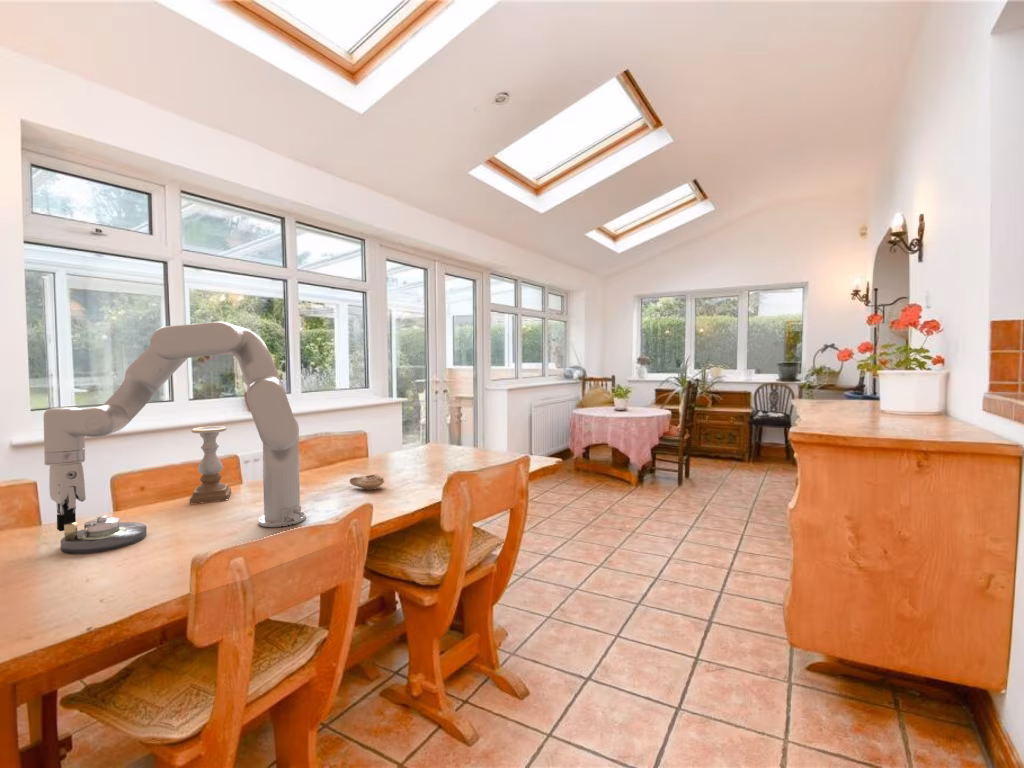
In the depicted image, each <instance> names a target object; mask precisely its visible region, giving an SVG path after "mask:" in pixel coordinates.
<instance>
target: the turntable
mask: <svg viewBox="0 0 1024 768" xmlns="http://www.w3.org/2000/svg"><path fill="white" fill-rule="evenodd" d="M63 532H64V533H63V534H64V536H63V537H62V538H61V539H60V551H61V552H63V553H65V554H72V555H81V554H92V553H93V554H94V553H101V552H105V551H110V550H115V549H119V548H122V547H126V546H130V545H132V544H134V543H137V542H139V541H141V540H142V539H145V537H147V525H146V524H145V523H142V522H137V521H136V522H134V521H133V522H132V521H131V522H130V521H129V522H128V521H127V522H125V521H124V522H120V531H119V532H117V533H114V534H111V535H108V536H103V537H96V538H87V537H85V535H84V528H83V529H81V530H78V521H76V522H70V523H66V524H64V531H63Z"/></svg>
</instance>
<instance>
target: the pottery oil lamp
mask: <svg viewBox="0 0 1024 768" xmlns="http://www.w3.org/2000/svg"><path fill="white" fill-rule="evenodd" d="M349 483H350V484H351V485H352V486H354V487H358V488H361V489H364V490H365V489H367V490H366V491H371V490H370V489H375V488H376V489H377V488H379V487H380V486H381V485H383V484H384V483H385V479H384V477H383V476H380V475H379V474H377V473H376V474H375V473H374V474H369V475H360V476H354V477H351V478H350V479H349ZM376 489H375V490H376Z"/></svg>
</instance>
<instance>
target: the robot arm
mask: <svg viewBox="0 0 1024 768" xmlns="http://www.w3.org/2000/svg"><path fill="white" fill-rule="evenodd" d="M150 336H151V337H150V340H149V345H148V346H147V348H146V349H145V350H144V351H143V352H142V353H141V354H140V355H139V356H138V357H137V358H136V359H135V360H134V361H133V362H132V363H131V364H129V366H128V367H127V368H126V370H125V375H124V380H123V381H122V383H121V385H120V386H119V387H118V389H117V390H116V391H115V392H114V393H113V394H112V395H111V396H110V397H109V398H108V399H107V400H106V401H105V402H104V403H103V404H102V405H100V406H96V407H90V408H79V407H77V406H76V407H74V406H67V407H64V406H62V407H51V408H48V409H47V410H45V411H44V413H43V453H44V456H43V457H44V466H49V470H48V471H49V482H48V483H49V484H48V485H49V489H48V490H49V497H50V499H51V500H52V501H54V502H55V503H56V513H57V514H56V528H57V529H56V531H57V530H58V531H59V532H64V524H66V523H70V522H77V521H76V519H77V518H76V516H77V515H76V509H77V505H76V504H77V503H76V502H77V501H76V500H78V501H79V502H81V503H82V502H84V501H86V498H87V496H86V485H85V484H86V483H85V473H84V467H83V463H84V462H85V461H86V445H85V442H86V441H85V440H86V438H85V437H87V438H88V437H89V438H102V437H106V436H109V435H112V434H113V433H116V432H119V431H120V430H122V429H123V428H125V427H126V426H127V425H128V424H129V423H130V422H132V420H133V419H134V418H135V417H136V416H137V415H138V414H139V412H141V410H143V408H144V407H145V406H146V405H147V404H148V403H149V402H150V400H151V399H152V397H153V396H155V395H156V393H158V391H159V389H161V387H162V386H163V385H164V384H165V383H166V382H167V380H169V379H170V377H171V376H172V375H173V374H175V372H176V371H177V370H178V369H179V368H180V367H182V365H183V364H184V363H185V362H186V361H187V360H188V359H189V358H197V357H198V358H199V357H208V356H218V355H232V356H233V357H235V359H236V360H237V362H238V365H239V367H240V370H241V373H242V375H243V379H244V380H245V382H246V383H245V384H246V386H247V390H246V402H247V405H248V409H249V411H250V414H251V417H252V418H253V419H252V420H253V421H254V424H255V427H256V431H257V432H258V436H259V438H260V440H261V442H262V472H263V473H262V476H263V482H262V483H263V515H261V516H260V517H259V518H258V520H257V522H258V525H259V526H261V527H264V528H265V527H266V528H282V527H281V526H283V527H287V526H288V525H289V526H292V524H293V525H295V524H299V523H301V522H303V521H305V519H306V518H307V513H306V512H304V511H302V505H301V494H300V493H301V492H300V444H299V443H300V428H299V423H298V421H297V419H296V418H295V417H294V413H293V411H292V408H291V405H290V402H289V399H288V395H287V393H286V392H287V391H286V388H285V386H284V384H283V382H282V381H281V378H280V375H279V373H278V370H277V367H276V364H275V362H274V360H273V357H272V354H271V352H270V350H269V348H268V347H267V344H266V342H265V341H264V340H263V339H262V338H261V337H260V336H259V335H258V334H256V333H255V332H253V331H252V330H250V329H248V328H244V327H242V326H238V325H234V324H231V323H229V322H226V321H211V322H201V323H191V324H179V325H167V326H162V327H160V328H158V329H156V330H155V331H154V332H153V334H152V335H150Z"/></svg>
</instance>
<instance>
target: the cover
mask: <svg viewBox="0 0 1024 768" xmlns="http://www.w3.org/2000/svg"><path fill="white" fill-rule="evenodd" d="M120 521H121V519H120V517H117V516H108V515H99V516H97V517H96V519H92V520H88V521H86V522H85V523H84V524H83V529H84V535H85V537H87V538H96V537H103V536H108V535H111V534H114V533H117V532H119V531H120V523H121V522H120Z"/></svg>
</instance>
